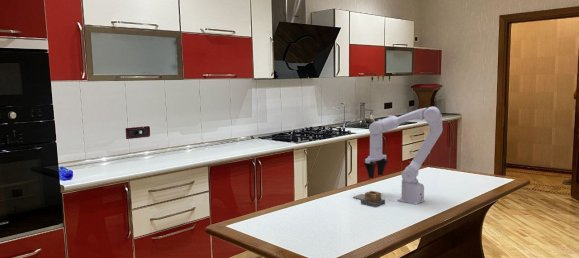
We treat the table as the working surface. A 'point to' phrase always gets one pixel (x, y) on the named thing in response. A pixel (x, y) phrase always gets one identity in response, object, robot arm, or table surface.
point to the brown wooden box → (373, 196)
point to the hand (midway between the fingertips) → (375, 176)
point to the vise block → (372, 203)
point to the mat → (359, 196)
